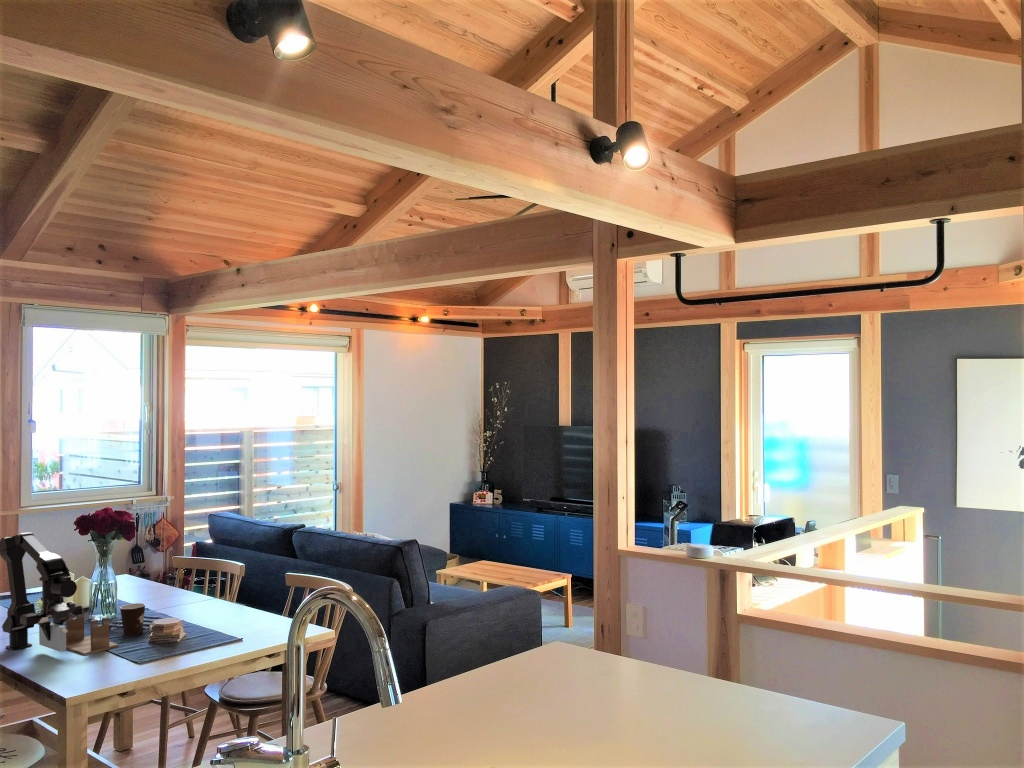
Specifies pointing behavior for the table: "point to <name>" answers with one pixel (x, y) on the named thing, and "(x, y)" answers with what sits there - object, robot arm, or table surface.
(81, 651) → the hinge frame
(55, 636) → the door
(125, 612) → the coffee mug
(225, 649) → the table surface
